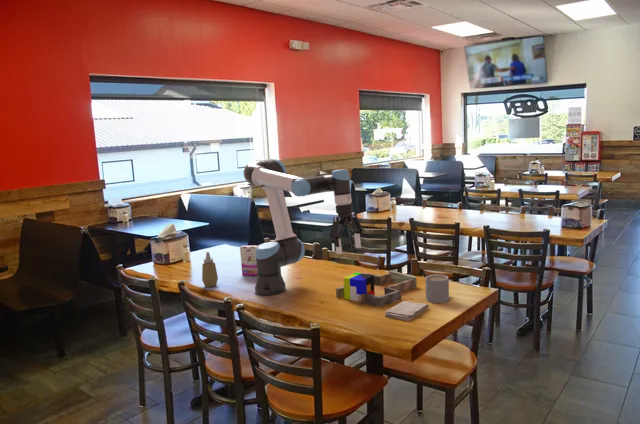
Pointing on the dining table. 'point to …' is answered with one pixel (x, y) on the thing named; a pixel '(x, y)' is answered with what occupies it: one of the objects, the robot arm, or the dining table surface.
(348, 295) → the puzzle toy
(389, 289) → the trap lane
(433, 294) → the coffee mug
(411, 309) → the washcloth
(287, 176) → the robot arm
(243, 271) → the candy bar box
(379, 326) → the dining table surface
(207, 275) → the squeeze bottle
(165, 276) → the dining table surface
